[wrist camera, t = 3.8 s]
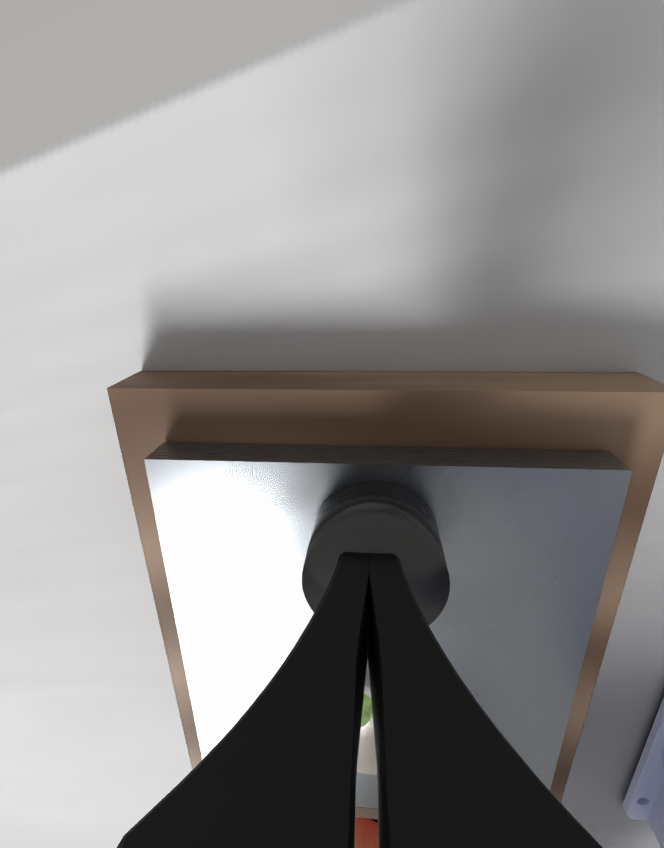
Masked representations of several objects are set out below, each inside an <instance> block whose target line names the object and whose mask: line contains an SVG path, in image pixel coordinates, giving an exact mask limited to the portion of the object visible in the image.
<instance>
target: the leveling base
mask: <svg viewBox="0 0 664 848" xmlns="http://www.w3.org/2000/svg"><path fill="white" fill-rule="evenodd" d="M107 390H108V395H109V399H110V404H111V408H112V413H113V417H114V422H115V426H116V431H117V435H118V440H119V444H120V449H121V453H122V457H123V462H124V466H125V471H126V475H127V480H128V484H129V489H130V493H131V498H132V502H133V507H134V511H135V516H136V520H137V525H138V529H139V533H140V538H141V542H142V547H143V551H144V556H145V560H146V565H147V569H148V574H149V578H150V583H151V587H152V592H153V596H154V600H155V605H156V609H157V614H158V618H159V623H160V627H161V632H162V636H163V641H164V645H165V650H166V654H167V659H168V663H169V668H170V672H171V676H172V681H173V685H174V690H175V694H176V699H177V703H178V708H179V712H180V717H181V721H182V726H183V730H184V735H185V739H186V744H187V748H188V752H189V757H190V761H191V766H192V769H194V768H195V767H196V766H197V765H198V764H199V763H200V762H201V760H202V755H201V750H200V744H199V739H198V734H197V729H196V724H195V719H194V713H193V708H192V703H191V698H190V693H189V688H188V683H187V677H186V672H185V667H184V662H183V657H182V652H181V647H180V641H179V636H178V631H177V626H176V621H175V616H174V610H173V605H172V600H171V595H170V590H169V585H168V580H167V574H166V569H165V564H164V559H163V554H162V549H161V544H160V538H159V533H158V528H157V523H156V518H155V513H154V508H153V502H152V497H151V492H150V487H149V482H148V477H147V471H146V466H145V461H144V459H145V458H146V457H147V456H148V455H150V454H151V453H152V452H153V451H154V450H155V449H156V448H158V447H159V446H160V445H161V444H162V443H163V442H172V443H225V444H278V445H330V446H383V447H436V448H488V449H541V450H593V451H610V452H611V453H612V454H613V455H614V456H616V457H617V458H618V459H619V460H621V461H622V462H623V463H624V464H625V465H627V466H628V467H629V468H630V469H632V470H633V471H632V475H631V479H630V483H629V487H628V490H627V494H626V498H625V502H624V506H623V510H622V514H621V518H620V521H619V525H618V529H617V533H616V537H615V541H614V545H613V548H612V552H611V556H610V560H609V564H608V568H607V572H606V576H605V579H604V583H603V587H602V591H601V595H600V599H599V603H598V606H597V610H596V614H595V618H594V622H593V626H592V630H591V634H590V637H589V641H588V645H587V649H586V653H585V657H584V661H583V665H582V668H581V672H580V676H579V680H578V684H577V688H576V692H575V695H574V699H573V703H572V707H571V711H570V715H569V719H568V723H567V726H566V730H565V734H564V738H563V742H562V746H561V750H560V754H559V757H558V761H557V765H556V769H555V773H554V777H553V781H552V784H551V788H550V792H551V793H552V794H553V795H554V796H555V797H556V798H557V799H558V801H559V802H561V799H562V795H563V792H564V789H565V785H566V782H567V778H568V775H569V772H570V768H571V765H572V761H573V758H574V755H575V751H576V748H577V744H578V741H579V738H580V734H581V731H582V727H583V724H584V720H585V717H586V714H587V710H588V707H589V703H590V700H591V697H592V693H593V690H594V686H595V683H596V680H597V676H598V673H599V669H600V666H601V663H602V659H603V656H604V652H605V649H606V646H607V642H608V639H609V635H610V632H611V629H612V625H613V622H614V618H615V615H616V612H617V608H618V605H619V601H620V598H621V595H622V591H623V588H624V584H625V581H626V578H627V574H628V571H629V567H630V564H631V561H632V557H633V554H634V550H635V547H636V543H637V540H638V537H639V533H640V530H641V526H642V523H643V520H644V516H645V513H646V509H647V506H648V503H649V499H650V496H651V492H652V489H653V486H654V482H655V479H656V475H657V472H658V469H659V465H660V462H661V458H662V455H663V452H664V384H661V383H659V382H657V381H655V380H653V379H651V378H648V377H646V376H644V375H642V374H640V373H578V372H279V371H140V372H138V373H136V374H134V375H132V376H130V377H128V378H126V379H124V380H122V381H120V382H118V383H116V384H114V385H112V386H111V387H109V388H107ZM355 817H359V818H369V819H378V809H375V808H365V807H355Z"/></svg>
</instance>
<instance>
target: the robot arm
mask: <svg viewBox="0 0 664 848" xmlns="http://www.w3.org/2000/svg"><path fill="white" fill-rule="evenodd" d="M368 592H369V595H368ZM367 658H368V666H369V678H370V690H371V702H372V714H373V726H374V738H375V750H376V762H377V782H378V848H602V847H601V846H600V845H599V843H598V842H597V841H596V840H595V839H594V838H593V837H592V836H591V835H590V834H589V833H588V832H587V831H586V830H585V829H584V828H583V827H582V826H581V825H580V823H579V822H578V821H577V820H576V819H575V818H574V817H573V816H572V815H571V814H570V813H569V812H568V811H567V809H566V808H565V807H564V806H563V805H562V804H561V803H560V802H559V801H558V799H557V798H556V797H555V796H554V795H553V794H552V793H551V792H550V791H549V789H548V788H547V787H546V786H545V785H544V784H543V783H542V782H541V781H540V779H539V778H538V777H537V776H536V775H535V773H534V772H533V771H532V770H531V769H530V767H529V766H528V765H527V764H526V763H525V761H524V760H523V759H522V758H521V756H520V755H519V754H518V753H517V752H516V750H515V749H514V748H513V747H512V746H511V744H510V743H509V742H508V741H507V740H506V738H505V737H504V736H503V735H502V734H501V732H500V731H499V730H498V729H497V727H496V726H495V725H494V723H493V722H492V721H491V719H490V718H489V717H488V715H487V714H486V713H485V711H484V710H483V709H482V707H481V706H480V705H479V703H478V702H477V701H476V699H475V698H474V696H473V695H472V694H471V692H470V691H469V689H468V688H467V686H466V685H465V684H464V682H463V681H462V679H461V678H460V676H459V675H458V673H457V672H456V670H455V669H454V667H453V666H452V664H451V662H450V661H449V659H448V658H447V656H446V654H445V653H444V651H443V649H442V648H441V646H440V644H439V643H438V641H437V639H436V638H435V636H434V634H433V632H432V631H431V629H430V627H429V625H428V623H427V621H426V620H425V618H424V616H423V614H422V612H421V610H420V608H419V606H418V604H417V602H416V600H415V598H414V596H413V594H412V592H411V589H410V587H409V585H408V583H407V580H406V578H405V575H404V573H403V570H402V567H401V564H400V561H399V558H398V557H397V556H396V555H395V554H384V553H358V552H343V553H342V554H341V555H339V558H338V562H337V565H336V568H335V570H334V573H333V575H332V578H331V580H330V582H329V584H328V587H327V589H326V591H325V593H324V595H323V597H322V599H321V601H320V602H319V604H318V606H317V608H316V610H315V612H314V614H313V616H312V618H311V619H310V621H309V623H308V624H307V626H306V628H305V629H304V631H303V632H302V634H301V636H300V637H299V639H298V641H297V642H296V644H295V646H294V647H293V649H292V650H291V652H290V653H289V655H288V656H287V658H286V659H285V661H284V662H283V663H282V665H281V666H280V668H279V669H278V670H277V672H276V673H275V675H274V676H273V677H272V679H271V680H270V681H269V683H268V684H267V685H266V687H265V688H264V689H263V690H262V692H261V693H260V694H259V695H258V697H257V698H256V699H255V700H254V702H253V703H252V704H251V705H250V707H249V708H248V709H247V710H246V712H245V713H244V714H243V715H242V716H241V718H240V719H239V720H238V721H237V722H236V724H235V725H234V726H233V727H232V728H231V729H230V730H229V732H228V733H227V734H226V735H225V736H224V737H223V738H222V739H221V740H220V741H219V742H218V743H217V744H216V745H215V747H214V748H213V749H212V750H211V751H210V752H209V753H208V754H207V755H206V756H205V757H204V758H203V759H202V760H201V762H200V763H199V764H198V765H197V766H196V767H195V768H194V769H193V770H192V771H191V772H190V773H189V774H188V775H187V776H186V777H185V778H184V779H183V780H182V781H181V782H180V783H179V784H178V785H177V786H176V787H175V788H174V789H173V790H172V791H171V792H170V793H169V794H167V795H166V796H165V797H164V798H163V799H162V800H161V801H160V802H159V803H158V804H157V805H156V806H155V807H154V808H153V809H152V810H151V811H149V812H148V813H147V814H146V815H145V816H144V817H143V818H142V819H141V820H140V821H139V822H138V823H137V824H136V825H135V826H134V827H133V828H131V829H130V830H129V831H128V832H127V833H126V834H125V835H124V836H123V838H122V840H121V841H120V843H119V845H118V846H117V848H354V844H355V802H356V776H357V760H358V750H359V740H360V730H361V720H362V709H363V699H364V689H365V679H366V668H367ZM622 807H623V810H624V812H625V814H626V816H627V817H628V818H630V819H632V820H639V821H649V823H650V825H651V827H652V829H653V831H654V833H655V836H656V838H657V840H658V842H659V844H660V846H661V848H664V698H663V700H662V703H661V705H660V708H659V711H658V713H657V716H656V718H655V721H654V724H653V726H652V729H651V731H650V734H649V737H648V739H647V742H646V744H645V747H644V750H643V752H642V755H641V758H640V760H639V763H638V765H637V768H636V771H635V773H634V776H633V778H632V781H631V784H630V786H629V789H628V791H627V794H626V797H625V799H624V802H623V804H622Z"/></svg>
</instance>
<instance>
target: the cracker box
mask: <svg viewBox="0 0 664 848" xmlns="http://www.w3.org/2000/svg"><path fill="white" fill-rule="evenodd" d="M354 848H378V823H377V822H375V821H373V820H371V819H369V818H359V817H355V844H354Z"/></svg>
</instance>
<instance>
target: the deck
mask: <svg viewBox="0 0 664 848" xmlns="http://www.w3.org/2000/svg"><path fill="white" fill-rule="evenodd" d="M144 461H145V466H146V471H147V477H148V482H149V487H150V492H151V497H152V502H153V508H154V513H155V518H156V523H157V528H158V533H159V538H160V544H161V549H162V554H163V559H164V564H165V569H166V574H167V580H168V585H169V590H170V595H171V600H172V605H173V610H174V616H175V621H176V626H177V631H178V636H179V641H180V647H181V652H182V657H183V662H184V667H185V672H186V677H187V683H188V688H189V693H190V698H191V703H192V708H193V713H194V719H195V724H196V729H197V734H198V739H199V744H200V750H201V755H202V759H203V758H204V757H205V756H206V755H207V754H208V753H209V752H210V751H211V750H212V749H213V748H214V747H215V745H216V744H217V743H218V742H219V741H220V740H221V739H222V738H223V737H224V736H225V735H226V734H227V733H228V732H229V730H230V729H231V728H232V727H233V726H234V725H235V724H236V722H237V721H238V720H239V719H240V718H241V716H242V715H243V714H244V713H245V712H246V710H247V709H248V708H249V707H250V705H251V704H252V703H253V702H254V700H255V699H256V698H257V697H258V695H259V694H260V693H261V692H262V690H263V689H264V688H265V687H266V685H267V684H268V683H269V681H270V680H271V679H272V677H273V676H274V675H275V673H276V672H277V670H278V669H279V668H280V666H281V665H282V663H283V662H284V661H285V659H286V658H287V656H288V655H289V653H290V652H291V650H292V649H293V647H294V646H295V644H296V642H297V641H298V639H299V637H300V636H301V634H302V632H303V631H304V629H305V628H306V626H307V624H308V623H309V621H310V619H311V618H312V616H313V614H314V612H315V610H316V608H317V606H318V604H319V602H320V601H321V599H322V597H323V595H324V593H325V591H326V589H327V587H328V584H329V582H330V580H331V578H332V575H333V573H334V570H335V568H336V565H337V562H338V558H339V555H341V554H342V553H343V552H358V553H384V554H395V555H396V556H397V557H398V558H399V561H400V564H401V567H402V570H403V573H404V575H405V578H406V580H407V583H408V585H409V587H410V589H411V592H412V594H413V596H414V598H415V600H416V602H417V604H418V606H419V608H420V610H421V612H422V614H423V616H424V618H425V620H426V621H427V623H428V625H429V627H430V629H431V631H432V632H433V634H434V636H435V638H436V639H437V641H438V643H439V644H440V646H441V648H442V649H443V651H444V653H445V654H446V656H447V658H448V659H449V661H450V662H451V664H452V666H453V667H454V669H455V670H456V672H457V673H458V675H459V676H460V678H461V679H462V681H463V682H464V684H465V685H466V686H467V688H468V689H469V691H470V692H471V694H472V695H473V696H474V698H475V699H476V701H477V702H478V703H479V705H480V706H481V707H482V709H483V710H484V711H485V713H486V714H487V715H488V717H489V718H490V719H491V721H492V722H493V723H494V725H495V726H496V727H497V729H498V730H499V731H500V732H501V734H502V735H503V736H504V737H505V738H506V740H507V741H508V742H509V743H510V744H511V746H512V747H513V748H514V749H515V750H516V752H517V753H518V754H519V755H520V756H521V758H522V759H523V760H524V761H525V763H526V764H527V765H528V766H529V767H530V769H531V770H532V771H533V772H534V773H535V775H536V776H537V777H538V778H539V779H540V781H541V782H542V783H543V784H544V785H545V786H546V787H547V788H548V789H549V791H550V788H551V784H552V781H553V777H554V773H555V769H556V765H557V761H558V757H559V754H560V750H561V746H562V742H563V738H564V734H565V730H566V726H567V723H568V719H569V715H570V711H571V707H572V703H573V699H574V695H575V692H576V688H577V684H578V680H579V676H580V672H581V668H582V665H583V661H584V657H585V653H586V649H587V645H588V641H589V637H590V634H591V630H592V626H593V622H594V618H595V614H596V610H597V606H598V603H599V599H600V595H601V591H602V587H603V583H604V579H605V576H606V572H607V568H608V564H609V560H610V556H611V552H612V548H613V545H614V541H615V537H616V533H617V529H618V525H619V521H620V518H621V514H622V510H623V506H624V502H625V498H626V494H627V490H628V487H629V483H630V479H631V475H632V471H633V470H632V469H630V468H629V467H628V466H627V465H625V464H624V463H623V462H622V461H621V460H619V459H618V458H617V457H616V456H614V455H613V454H612V453H611V452H610V451H593V450H541V449H488V448H436V447H383V446H330V445H278V444H225V443H172V442H163V443H162V444H161V445H160V446H159V447H158V448H156V449H155V450H154V451H153V452H152V453H151V454H150V455H148V456H147V457H146V458H145V459H144ZM368 595H369V592H368ZM355 807H365V808H375V809H378V782H377V762H376V750H375V738H374V726H373V714H372V702H371V690H370V678H369V666H368V658H367V668H366V679H365V689H364V699H363V709H362V720H361V730H360V740H359V750H358V760H357V776H356V802H355Z"/></svg>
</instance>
